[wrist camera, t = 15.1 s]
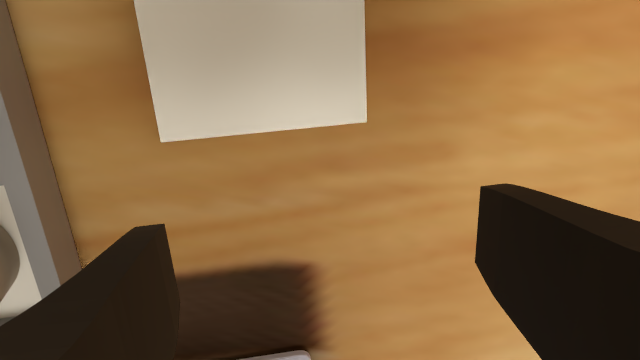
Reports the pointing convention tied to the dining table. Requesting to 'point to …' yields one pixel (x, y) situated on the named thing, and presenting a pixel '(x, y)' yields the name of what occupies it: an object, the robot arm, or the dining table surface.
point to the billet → (7, 262)
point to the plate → (253, 65)
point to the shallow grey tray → (29, 188)
